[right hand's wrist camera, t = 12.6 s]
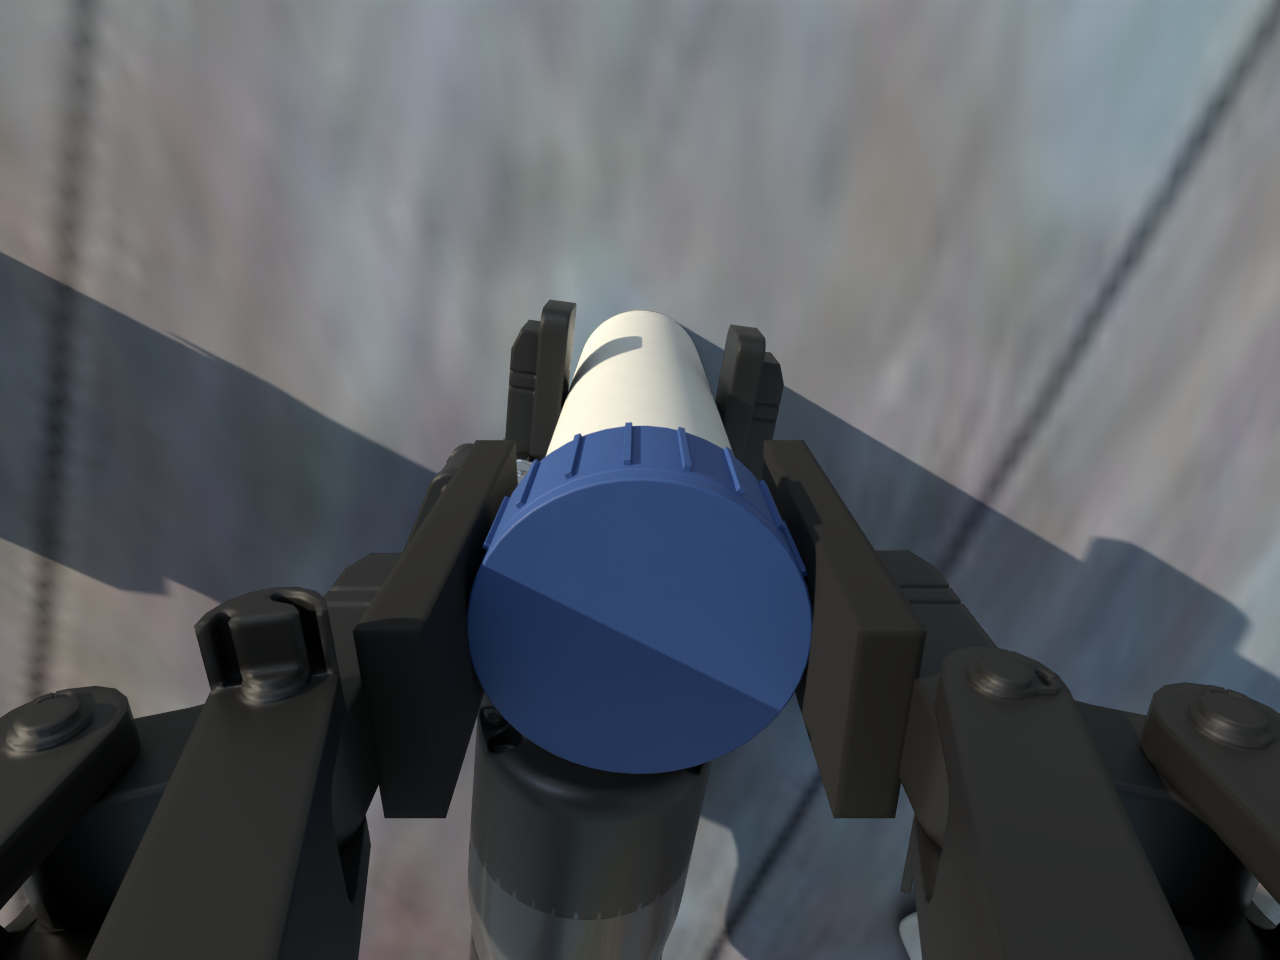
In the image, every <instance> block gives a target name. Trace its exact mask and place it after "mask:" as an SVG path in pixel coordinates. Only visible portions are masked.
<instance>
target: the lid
mask: <svg viewBox="0 0 1280 960" xmlns="http://www.w3.org/2000/svg"><path fill="white" fill-rule="evenodd" d="M482 548H483V549H485V550H487V551H486V553H485V556H484V558H483V560H482V563H481V565H480V568H479V570H478V572H477V575H476V578H475V581H474V584H473V586H472V589H471V592H470V597H469V603H468V608H467V631H468V641H469V650H470V657H471V660H472V664H473V667H474V671H475V673H476V675H477V677H478V679H479V682H480V684H481V686H482V688H483V690H484V691H485V693H486V694H487V696H488V698H489V699H490V701H491V702H492V704H493V705H494V706H495V708H496V709H497V710H498V711H499V712H500V714H501V715H502V716H503V717H504V718H505V720H507V721H508V722H509V723H510V724H511V725H512V726H513V727H514V728H515V729H516V730H517V731H518V732H520V733H521V734H522V735H524V736H525V737H526V738H528V739H529V740H531V741H532V742H533V743H535V744H536V745H538V746H540V747H541V748H543V749H545V750H547V751H549V752H550V753H552V754H554V755H556V756H559V757H561V758H564V759H566V760H568V761H571V762H573V763H577V764H580V765H583V766H587V767H590V768H594V769H599V770H604V771H610V772H618V773H630V774H647V773H661V772H669V771H676V770H680V769H685V768H689V767H694V766H697V765H700V764H703V763H706V762H709V761H711V760H714V759H716V758H719V757H721V756H723V755H725V754H727V753H729V752H731V751H733V750H735V749H736V748H738V747H740V746H741V745H743V744H745V743H746V742H748V741H749V740H751V739H752V738H753V737H755V736H756V735H757V734H758V733H760V732H761V731H762V730H763V729H765V728H766V727H767V726H768V725H769V724H770V723H771V722H772V721H773V720H774V719H775V718H776V717H777V716H778V715H779V713H780V712H781V711H782V710H783V708H784V707H785V706H786V704H787V703H788V702H789V700H790V699H791V697H792V696H793V694H794V692H795V690H796V689H797V687H798V685H799V683H800V681H801V679H802V676H803V674H804V671H805V668H806V666H807V663H808V659H809V654H810V646H811V636H812V626H813V613H812V604H811V600H810V595H809V591H808V587H807V584H806V582H805V579H804V577H807V576H808V574H807V570H806V568H805V566H804V563H803V561H802V559H801V556H800V554H799V552H798V550H797V547H796V545H795V543H794V540H793V538H792V536H791V534H790V531H789V529H788V527H787V524H786V522H785V521H782V518H781V516H780V514H779V511H778V509H777V507H776V504H775V502H774V500H773V498H772V495H771V493H770V491H769V488H768V486H767V484H766V482H765V481H764V480H762V481H760V482H759V481H758V480H757V479H756V477H755V476H754V475H753V474H752V472H751V471H750V470H748V469H747V468H746V467H745V466H744V465H743V464H742V463H741V462H740V461H739V460H738V459H736V458H735V457H734V455H733V452H732V450H731V449H730V448H728V447H726V448H725V449H722V448H721V447H719V446H717V445H715V444H713V443H711V442H709V441H707V440H705V439H703V438H700V437H698V436H695V435H692V434H690V433H687V432H685V428H682V427H678V430H674V429H670V428H665V427H655V426H632V422H628V423H625V426H623V427H616V428H609V429H604V430H601V431H597V432H593V433H590V434H586V435H584V436H582V435H581V433H579V434H576V435H574V439H573V440H572V441H570V442H568V443H566V444H564V445H563V446H561V447H559V448H558V449H556V450H554V451H553V452H551V453H550V454H549V455H547V456H546V457H545V458H543V459H542V460H541V461H540V462H539V461H538V460H537V459H535V460H534V461H533V462H532V464H531V466H530V469H529V471H528V473H527V474H526V475H525V476H524V478H523V479H522V480H521V482H520V483H519V485H518V486H517V487H516V489H515V490H514V491H513V493H512V495H511V497H510V498H509V497H507V496H505V497H504V499H503V501H502V504H501V506H500V508H499V510H498V513H497V515H496V517H495V519H494V522H493V524H492V526H491V529H490V531H489V533H488V535H487V538H486V540H485V542H484V544H483V547H482Z"/></svg>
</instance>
